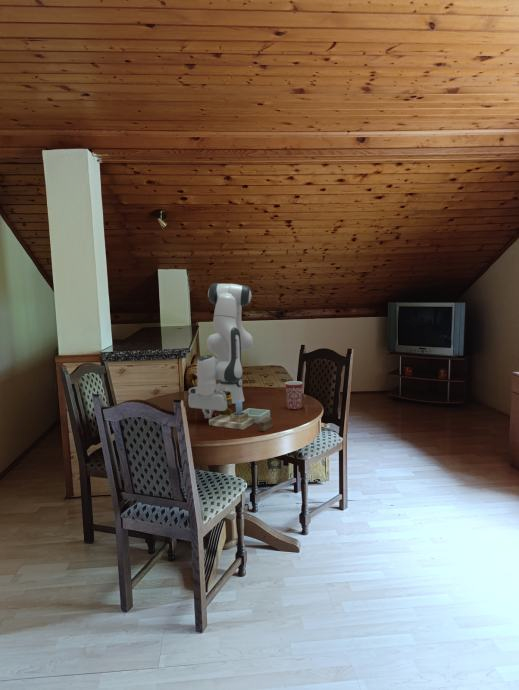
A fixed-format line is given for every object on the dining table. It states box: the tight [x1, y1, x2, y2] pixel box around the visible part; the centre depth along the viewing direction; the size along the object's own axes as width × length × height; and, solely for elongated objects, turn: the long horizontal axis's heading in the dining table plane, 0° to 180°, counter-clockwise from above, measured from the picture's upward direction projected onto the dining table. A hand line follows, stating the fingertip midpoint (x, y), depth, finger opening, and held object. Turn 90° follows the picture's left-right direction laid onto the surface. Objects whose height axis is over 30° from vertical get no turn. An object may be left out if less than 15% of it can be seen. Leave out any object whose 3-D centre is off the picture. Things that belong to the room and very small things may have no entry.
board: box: [208, 411, 254, 430], centre depth 213 cm, size 18×10×6 cm, turn 63°
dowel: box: [235, 400, 243, 416], centre depth 210 cm, size 3×3×9 cm
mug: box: [284, 380, 303, 410], centre depth 241 cm, size 13×9×14 cm
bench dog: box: [257, 417, 273, 432], centre depth 205 cm, size 3×8×4 cm, turn 153°
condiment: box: [214, 391, 233, 416], centre depth 228 cm, size 7×8×12 cm
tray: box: [242, 407, 271, 425], centre depth 220 cm, size 12×12×4 cm
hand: (208, 418), depth 218 cm, fingers closed
